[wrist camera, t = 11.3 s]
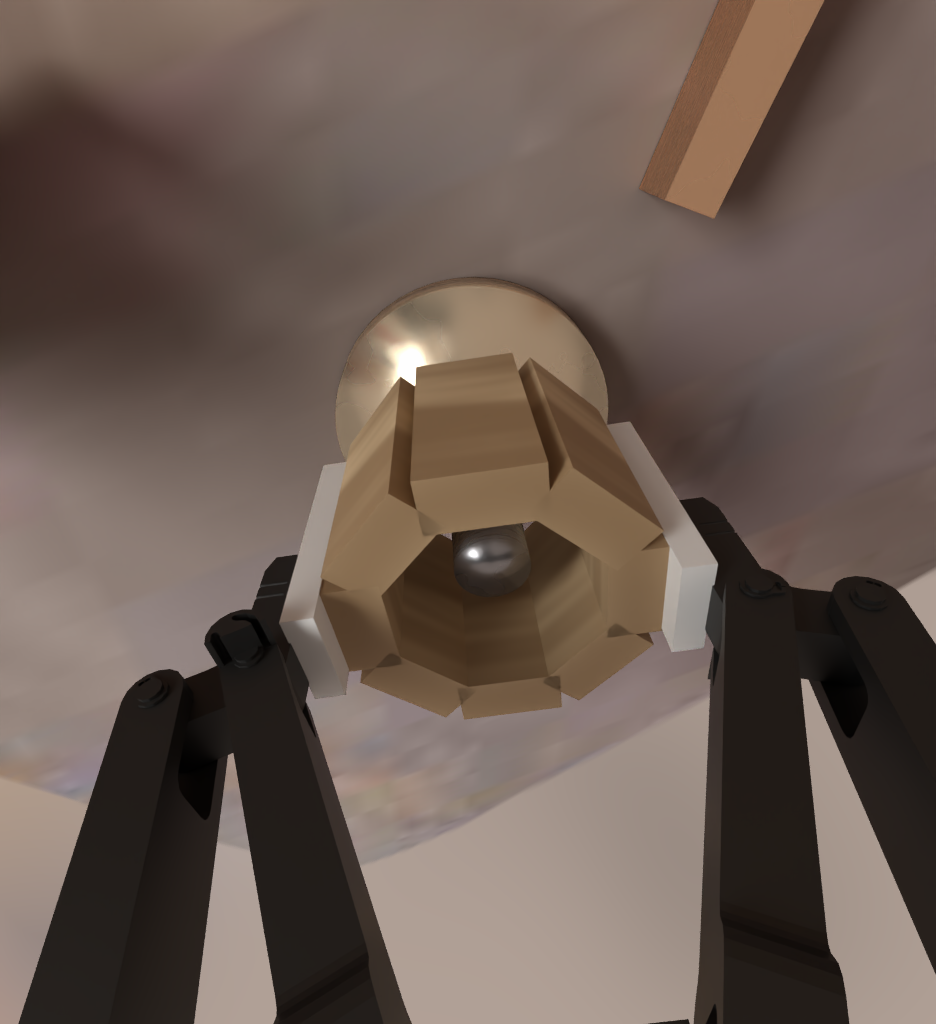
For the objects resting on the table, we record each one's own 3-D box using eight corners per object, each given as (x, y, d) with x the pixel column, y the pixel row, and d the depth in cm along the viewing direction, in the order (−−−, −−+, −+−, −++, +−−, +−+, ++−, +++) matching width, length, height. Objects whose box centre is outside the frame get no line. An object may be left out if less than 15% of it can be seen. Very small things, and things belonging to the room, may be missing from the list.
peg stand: (305, 301, 19) (231, 425, 12) (601, 256, 19) (709, 355, 12) (373, 531, 25) (350, 708, 18) (599, 500, 25) (670, 667, 18)
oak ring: (324, 380, 16) (279, 499, 11) (605, 338, 16) (682, 443, 11) (384, 584, 21) (371, 731, 16) (602, 555, 21) (656, 694, 16)
